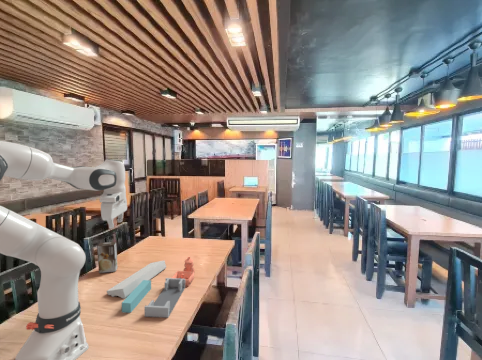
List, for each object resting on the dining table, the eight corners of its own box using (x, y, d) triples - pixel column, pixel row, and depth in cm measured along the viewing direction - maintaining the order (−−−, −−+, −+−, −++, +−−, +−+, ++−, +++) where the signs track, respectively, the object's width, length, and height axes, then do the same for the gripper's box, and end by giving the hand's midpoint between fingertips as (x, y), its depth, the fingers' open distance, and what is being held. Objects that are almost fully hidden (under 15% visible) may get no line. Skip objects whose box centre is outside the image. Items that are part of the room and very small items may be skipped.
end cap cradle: (168, 319, 102) (168, 307, 102) (144, 318, 103) (144, 306, 103) (185, 288, 127) (185, 278, 127) (166, 287, 128) (166, 277, 127)
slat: (130, 314, 106) (130, 303, 106) (121, 313, 106) (121, 302, 106) (151, 289, 126) (151, 280, 125) (143, 289, 126) (143, 280, 126)
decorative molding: (109, 300, 119) (125, 298, 116) (106, 291, 119) (122, 288, 116) (152, 270, 152) (166, 268, 149) (150, 262, 152) (164, 260, 149)
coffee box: (118, 267, 151) (117, 241, 150) (115, 271, 145) (114, 244, 144) (101, 268, 149) (100, 242, 147) (98, 273, 142) (97, 246, 141)
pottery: (188, 287, 128) (188, 269, 127) (171, 286, 129) (170, 268, 128) (198, 272, 146) (198, 255, 145) (183, 271, 147) (183, 254, 146)
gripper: (117, 191, 123) (117, 219, 124) (97, 199, 102) (98, 231, 104) (130, 191, 123) (130, 219, 125) (113, 199, 103) (114, 231, 104)
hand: (116, 225), depth 114 cm, fingers open, 8 cm apart
